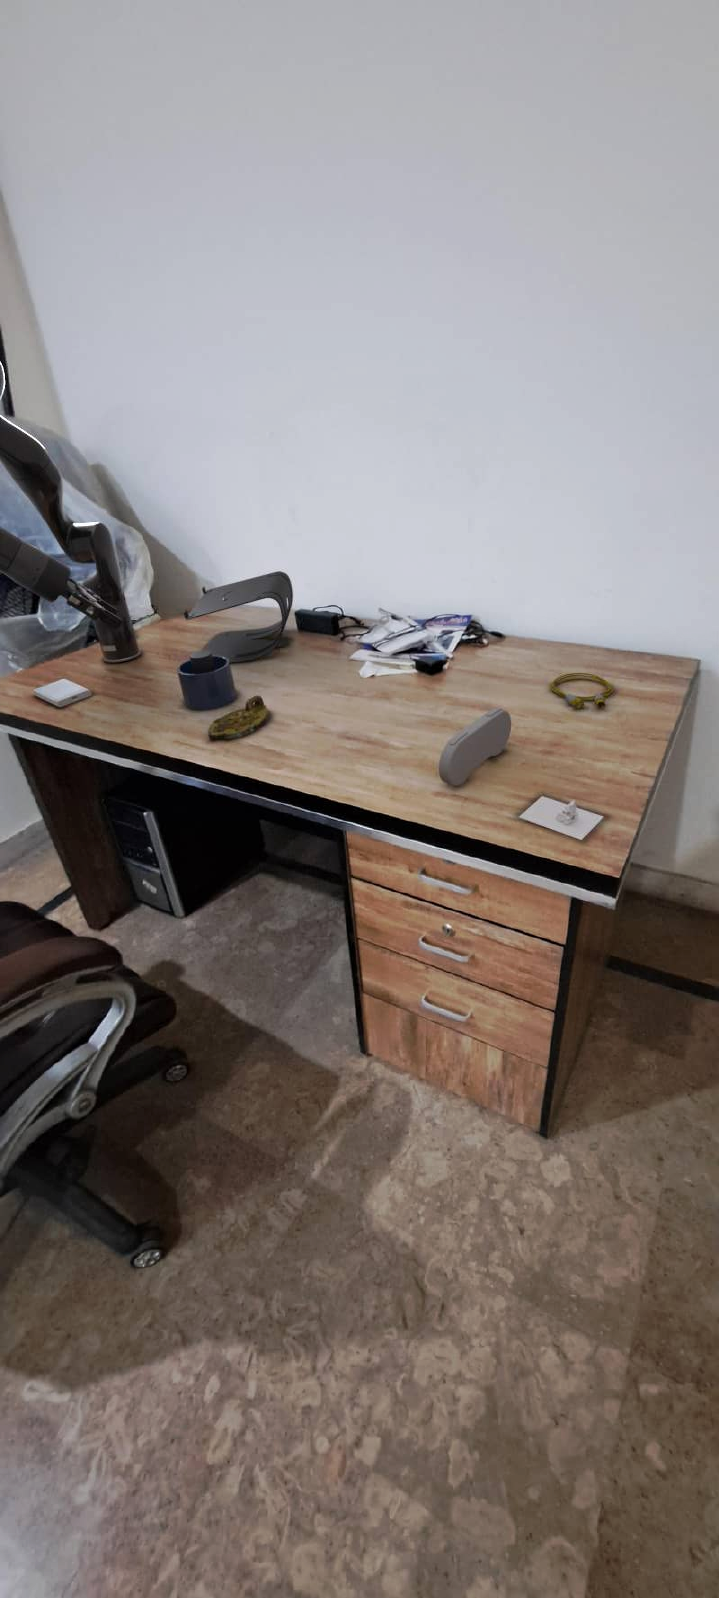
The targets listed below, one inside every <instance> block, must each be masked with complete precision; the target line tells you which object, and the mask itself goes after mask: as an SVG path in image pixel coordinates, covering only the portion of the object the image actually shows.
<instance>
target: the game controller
mask: <svg viewBox="0 0 719 1598" xmlns="http://www.w3.org/2000/svg"><path fill="white" fill-rule="evenodd" d="M511 718H512V717H511V714H510V713H509V711H507V710H504V709H503V708H502V707H493V708H492V709H490V710H488V711H487V712H486V713H484V714H483V715H481V716H480V717H478V718H477V719H475V720H474V721H473V722H471V723H470V724H468V725H467V726H466V727H464V728H463V729H462V730H460V731H459V732H457V733H456V734H455V735H454V736H452V737H451V738H450V739H449V740H448V741H447V742H446V744H445V745H444V747H443V749H442V752H441V754H440V758H439V762H438V775H439V777H440V780H441V781H442V782H443V783H445V784H448V785H451V786H454V787H457V786H460V785H462V784H463V783H464V782H466V780H467V779H468V778H469V777H470V775H471V773H472V772H473V771H474V770H475V769H476V768H477V767H479V766H481V764H482V763H484V762H485V761H486V760H487V759H488V758H490V757H497V756H498V755H500V754H501V753H502V752H503V751H504V749H505V747H506V745H507V743H508V741H509V738H510V735H511V730H512V719H511Z"/></svg>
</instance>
